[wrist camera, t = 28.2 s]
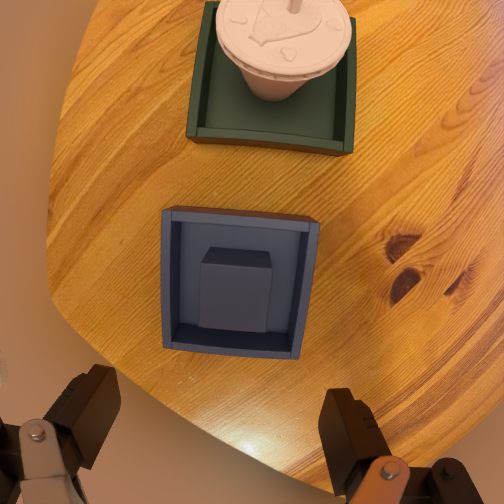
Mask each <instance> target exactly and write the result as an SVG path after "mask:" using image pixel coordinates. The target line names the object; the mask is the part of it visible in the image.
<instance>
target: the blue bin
mask: <svg viewBox="0 0 504 504" xmlns="http://www.w3.org/2000/svg"><path fill="white" fill-rule="evenodd" d="M319 229H320V223H319V222H317V221H316V220H314V219H313V218H311V217H309V216H299V215H289V214H279V213H268V212H257V211H245V210H232V209H219V208H205V207H190V206H173V207H170V208H167V209H164V210H162V220H161V315H162V338H163V348H168V349H175V350H183V351H191V352H199V353H208V354H218V355H228V356H240V357H253V358H270V359H294V360H298V359H299V356H300V350H301V345H302V340H303V334H304V329H305V323H306V317H307V311H308V305H309V299H310V293H311V287H312V280H313V273H314V267H315V260H316V252H317V245H318V237H319ZM210 247H219V248H232V249H244V250H256V251H268V252H269V254H270V258H271V263H272V267H273V275H272V284H271V293H270V302H269V311H268V319H267V328H266V332H265V333H262V332H248V331H236V330H224V329H214V328H204V327H199V326H198V320H199V279H200V263H201V261H202V259H203V258H204V256H205V254H206V253H207V251H208V250H209V248H210Z"/></svg>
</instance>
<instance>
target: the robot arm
mask: <svg viewBox="0 0 504 504" xmlns="http://www.w3.org/2000/svg"><path fill="white" fill-rule="evenodd" d="M120 406H121V396H120V391H119V386H118V381H117V375H116V371H115V369H114V368H113V367H109V366H104V365H100V364H95V365H94V366H93V367H92V368H91V370H90V371H89V372H88V374H85V373H82V374H80V375H79V376H77V377H75V378H74V379H73V380H72V381H71V382H70V383H69V384H68V386H67V387H66V389H65V390H64V391H63V392H62V395H61V396H59V397H58V399H57V400H56V401H55V403H54V404H53V405H52V407H51V408H50V409H49V411H48V412H47V413H46V415H45V416H44V417H43V419H32V420H29V421H27V422H25V423H24V424H23V425H22V426H15V425H9V424H4V423H3V422H2V420H1V418H0V504H16V502H17V499H18V497H19V495H20V493H22V498H23V502H24V504H89V502H88V500H87V497H86V495H85V492H84V489H83V487H82V485H81V482H80V479H79V476H78V474H77V471H78V470H79V468H80V467H83V468H86V469H89V470H91V468H92V466H93V464H94V461H95V459H96V457H97V455H98V453H99V451H100V449H101V447H102V445H103V443H104V441H105V439H106V437H107V435H108V432H109V430H110V428H111V426H112V424H113V422H114V420H115V418H116V416H117V414H118V412H119V410H120ZM318 430H319V434H320V438H321V442H322V446H323V450H324V454H325V458H326V462H327V466H328V470H329V474H330V478H331V482H332V486H333V490H334V494H335V496H341V495H345V496H346V499H347V502H346V503H345V504H484V503H483V501H482V499H481V497H480V495H479V493H478V491H477V489H476V487H475V485H474V483H473V482H472V480H471V478H470V476H469V474H468V472H467V470H466V468H465V467H464V465H463V464H462V463H461V462H460V461H458V460H456V459H454V458H442V459H439V460H438V461H436V462H435V464H434V465H433V466H432V468H422V467H409V466H408V464H407V463H406V462H405V461H404V460H402V459H401V458H399V457H396V456H392V454H391V452H390V450H389V448H388V445H387V443H386V441H385V439H384V437H383V435H382V433H381V431H380V428H379V427H378V424H377V422H376V420H374V416H373V414H372V412H371V410H370V408H369V407H368V406H367V405H366V404H365V403H363V402H362V401H361V400H354V398H353V396H352V394H351V391H350V389H349V388H334V389H328V391H327V393H326V396H325V400H324V403H323V406H322V409H321V413H320V416H319V421H318Z"/></svg>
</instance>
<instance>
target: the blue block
mask: <svg viewBox="0 0 504 504" xmlns="http://www.w3.org/2000/svg"><path fill="white" fill-rule="evenodd" d="M272 275H273V267H272V263H271V258H270V254H269V252H268V251H256V250H244V249H232V248H219V247H210V248H209V250H208V251H207V253H206V254H205V256H204V258H203V259H202V261H201V263H200V279H199V320H198V326H199V327H204V328H214V329H224V330H236V331H248V332H262V333H265V332H266V328H267V319H268V311H269V302H270V293H271V284H272Z"/></svg>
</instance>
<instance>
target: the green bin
mask: <svg viewBox="0 0 504 504" xmlns="http://www.w3.org/2000/svg"><path fill="white" fill-rule="evenodd" d="M220 2H221V1H206V2H205V7H204V12H203V17H202V22H201V28H200V33H199V39H198V45H197V51H196V58H195V64H194V71H193V78H192V85H191V93H190V101H189V109H188V118H187V128H186V137H187V138H188V139H190V140H192V141H193V142H195V143H203V144H223V145H239V146H252V147H263V148H274V149H283V150H292V151H300V152H308V153H316V154H323V155H329V156H336V157H339V156H343V155H347V154H351V153H353V145H354V129H355V109H356V67H357V57H356V19H355V18H353V17H349V18H350V22H351V27H352V34H351V40H350V43H349V46H348V48H347V49H346V51H345V53H344V56H343V57H342V58H341V59H340V61H339V62H338V63H337V65H336V66H335V67H333V68H332V69H330V70H329V71H327V72H326V73H324V74H323V75H321V76H318V77H315V78H312V79H309V80H308V81H306V82H305V83H304V84H303V85H302V86H301V87H299V88H298V89H297V90H296V91H295V92H294V93H292V94H291V95H290V96H289V97H288V98H286V99H284V100H281V101H277V102H269V101H265V100H262V99H260V98H258V97H257V96H255V95H254V94H253V93H252V91H251V90H250V88H249V86H248V84H247V82H246V80H245V78H244V76H243V74H242V72H241V70H240V68H239V66H237V65H236V64H235V63H234V62H233V61H232V60H231V59H230V58H229V57H228V56H227V55H226V54H225V52H224V50H223V49H222V47H221V45H220V43H219V42H218V37H217V31H216V13H217V9H218V6H219V4H220Z"/></svg>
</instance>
